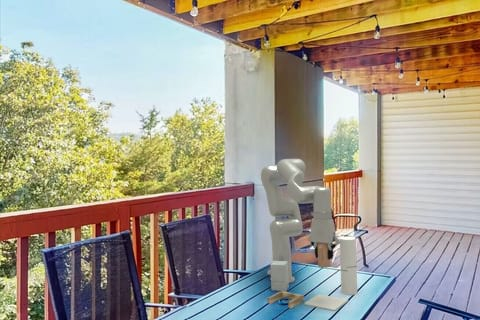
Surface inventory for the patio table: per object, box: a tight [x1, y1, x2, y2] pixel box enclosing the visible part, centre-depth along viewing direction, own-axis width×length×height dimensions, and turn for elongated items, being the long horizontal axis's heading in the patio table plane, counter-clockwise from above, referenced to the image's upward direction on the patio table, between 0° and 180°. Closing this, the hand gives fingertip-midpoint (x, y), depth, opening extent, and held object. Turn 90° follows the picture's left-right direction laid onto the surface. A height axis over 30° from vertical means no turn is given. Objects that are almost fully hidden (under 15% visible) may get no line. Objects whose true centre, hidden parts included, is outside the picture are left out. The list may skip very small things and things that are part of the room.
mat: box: [303, 293, 349, 312], centre depth 170 cm, size 14×14×1 cm
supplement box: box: [269, 260, 290, 292], centre depth 191 cm, size 7×7×13 cm
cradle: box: [267, 291, 304, 310], centre depth 172 cm, size 11×11×2 cm
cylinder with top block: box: [317, 243, 331, 268], centre depth 169 cm, size 5×6×10 cm
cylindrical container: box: [339, 236, 358, 296], centre depth 182 cm, size 7×7×25 cm
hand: (324, 257), depth 170 cm, fingers closed on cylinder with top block, 5 cm apart
